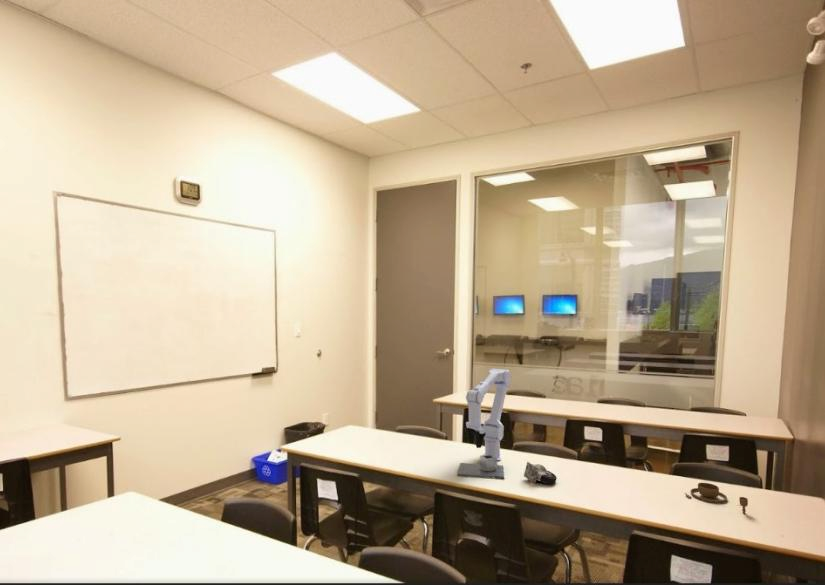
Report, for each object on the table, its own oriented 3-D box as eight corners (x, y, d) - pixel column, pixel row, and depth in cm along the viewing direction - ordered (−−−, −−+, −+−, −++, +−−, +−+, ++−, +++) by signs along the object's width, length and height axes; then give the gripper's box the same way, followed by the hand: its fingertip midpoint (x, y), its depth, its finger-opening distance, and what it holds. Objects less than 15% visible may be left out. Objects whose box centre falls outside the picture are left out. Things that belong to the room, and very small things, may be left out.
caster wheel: (558, 488, 188) (542, 490, 183) (538, 474, 198) (522, 475, 193) (562, 473, 188) (546, 475, 183) (542, 460, 198) (526, 461, 192)
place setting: (728, 495, 177) (728, 480, 177) (752, 517, 158) (751, 500, 158) (679, 490, 182) (679, 475, 182) (696, 511, 163) (696, 495, 163)
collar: (480, 466, 204) (480, 455, 204) (490, 465, 205) (490, 454, 206) (486, 470, 198) (486, 459, 198) (497, 469, 200) (497, 458, 200)
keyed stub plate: (460, 464, 210) (460, 455, 210) (503, 467, 206) (503, 457, 207) (457, 475, 196) (457, 465, 196) (504, 478, 193) (503, 468, 193)
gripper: (460, 413, 214) (460, 441, 214) (474, 420, 201) (474, 450, 200) (473, 412, 217) (473, 440, 216) (488, 419, 203) (488, 449, 202)
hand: (475, 445), depth 208 cm, fingers open, 7 cm apart
